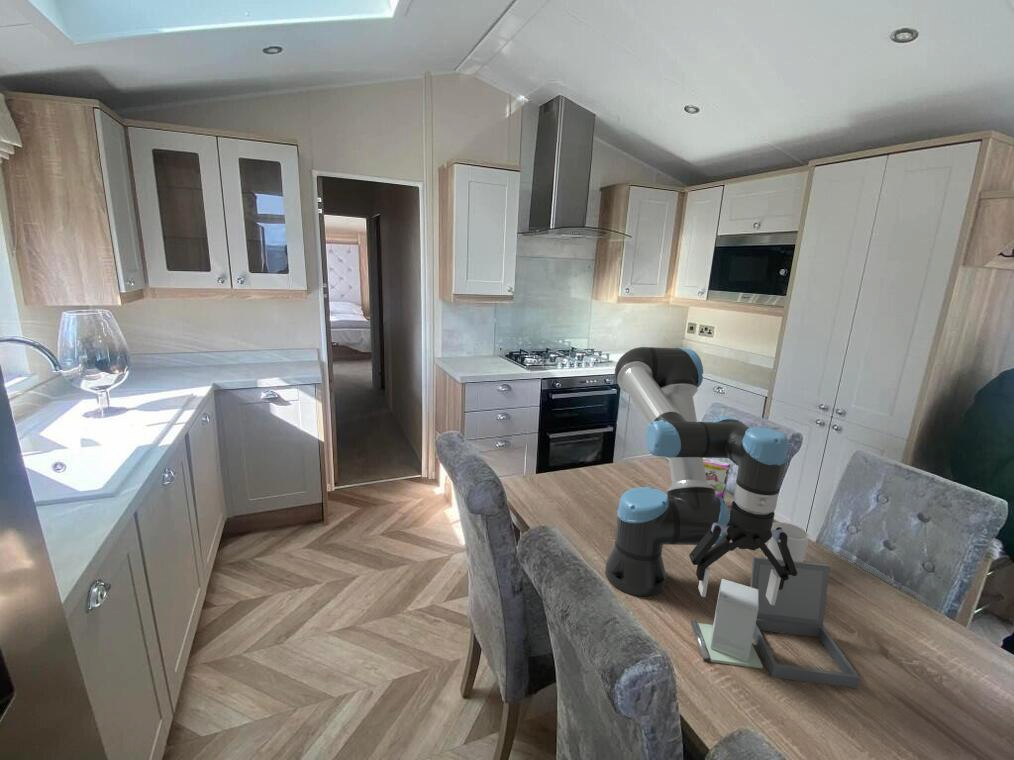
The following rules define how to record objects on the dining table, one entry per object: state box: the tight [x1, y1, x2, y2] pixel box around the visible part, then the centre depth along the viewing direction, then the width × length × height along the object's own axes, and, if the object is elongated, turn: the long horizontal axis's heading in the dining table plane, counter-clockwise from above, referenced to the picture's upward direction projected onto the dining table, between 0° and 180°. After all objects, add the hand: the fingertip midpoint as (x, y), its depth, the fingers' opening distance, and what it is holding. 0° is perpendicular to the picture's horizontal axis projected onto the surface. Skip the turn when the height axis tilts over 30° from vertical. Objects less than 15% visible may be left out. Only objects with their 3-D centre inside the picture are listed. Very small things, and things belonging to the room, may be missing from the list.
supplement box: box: [710, 578, 759, 662], centre depth 97 cm, size 7×7×13 cm
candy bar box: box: [703, 458, 731, 501], centre depth 156 cm, size 11×5×16 cm, turn 58°
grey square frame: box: [753, 618, 861, 689], centre depth 97 cm, size 16×14×2 cm
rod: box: [690, 619, 710, 662], centre depth 100 cm, size 1×10×1 cm, turn 172°
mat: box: [697, 622, 764, 669], centre depth 99 cm, size 10×10×1 cm
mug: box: [765, 521, 810, 562], centre depth 127 cm, size 9×12×11 cm
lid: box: [749, 556, 830, 626], centre depth 103 cm, size 16×14×1 cm
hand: (735, 596), depth 97 cm, fingers open, 13 cm apart
